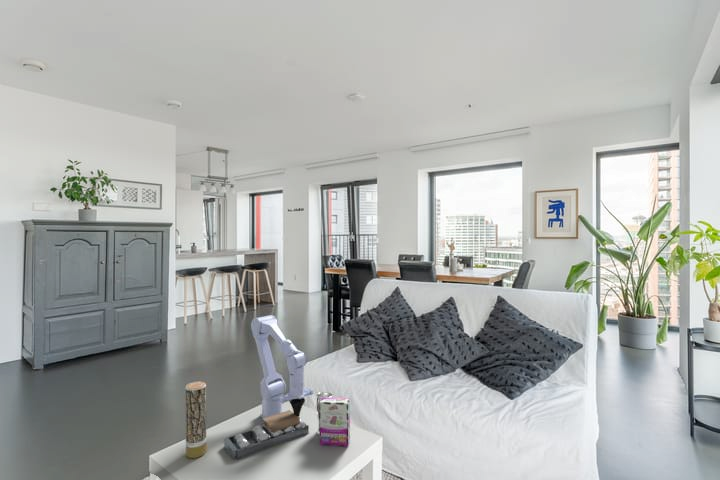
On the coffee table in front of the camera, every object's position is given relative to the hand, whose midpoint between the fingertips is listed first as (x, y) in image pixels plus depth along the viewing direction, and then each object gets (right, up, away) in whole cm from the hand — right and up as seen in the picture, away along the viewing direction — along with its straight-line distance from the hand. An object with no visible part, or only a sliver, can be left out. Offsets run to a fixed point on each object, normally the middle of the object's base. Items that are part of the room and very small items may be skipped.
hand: (296, 416), depth 153 cm
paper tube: (-34, -6, -18) cm, 38 cm away
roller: (-17, -5, -14) cm, 22 cm away
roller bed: (-10, -5, -8) cm, 14 cm away
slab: (-5, -1, -4) cm, 7 cm away
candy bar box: (+16, -6, -10) cm, 20 cm away
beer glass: (+12, -6, -2) cm, 13 cm away
